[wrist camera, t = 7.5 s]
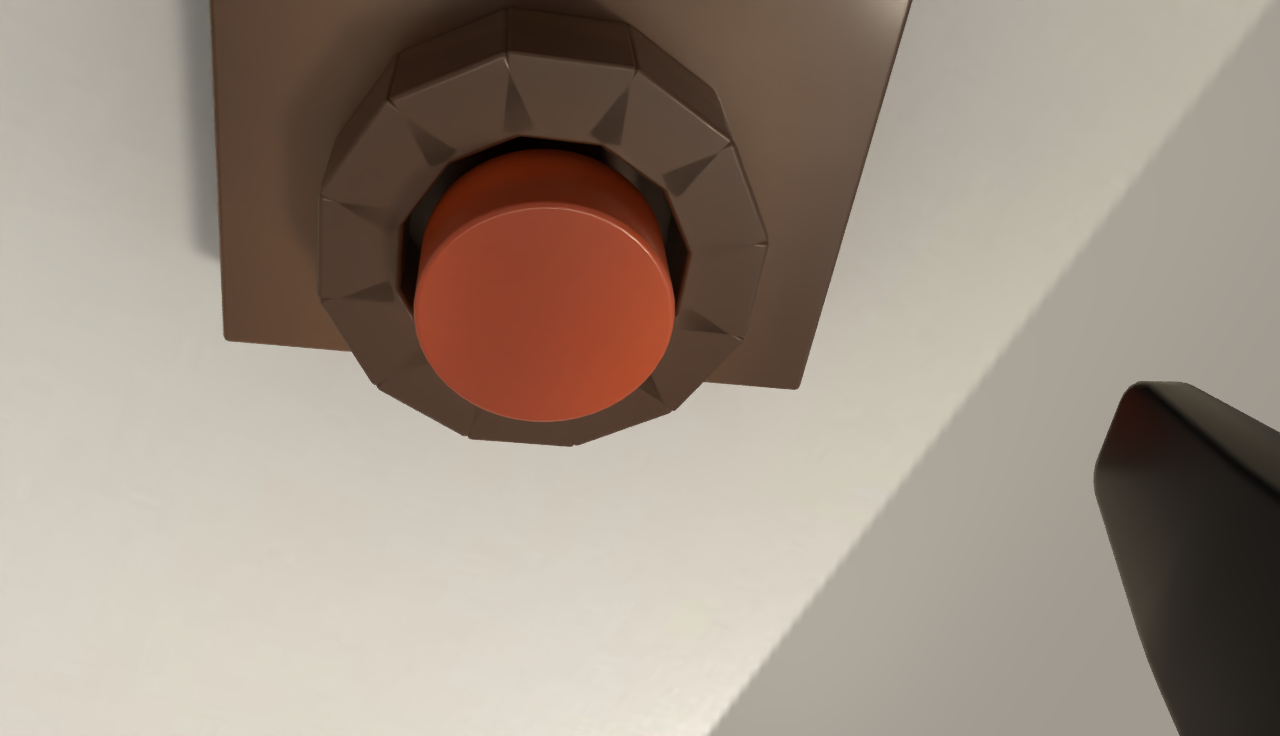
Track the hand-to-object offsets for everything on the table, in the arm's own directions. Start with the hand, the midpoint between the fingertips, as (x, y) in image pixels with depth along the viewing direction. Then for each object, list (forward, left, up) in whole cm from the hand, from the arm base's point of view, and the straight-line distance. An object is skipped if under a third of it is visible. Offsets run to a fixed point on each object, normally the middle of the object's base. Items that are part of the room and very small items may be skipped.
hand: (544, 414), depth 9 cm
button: (-1, +3, -9) cm, 9 cm away
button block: (-1, +2, -12) cm, 12 cm away
